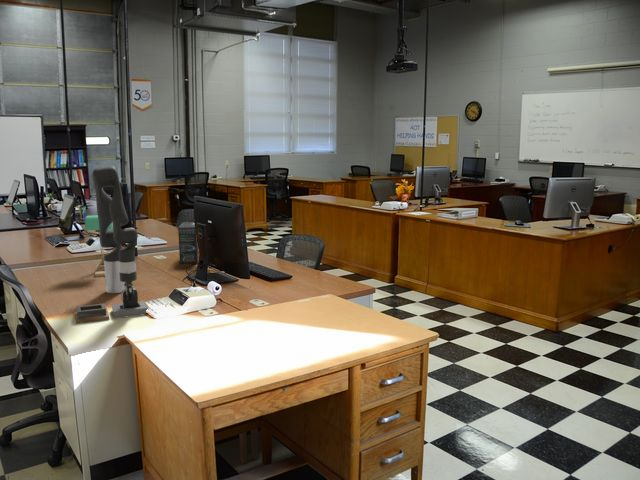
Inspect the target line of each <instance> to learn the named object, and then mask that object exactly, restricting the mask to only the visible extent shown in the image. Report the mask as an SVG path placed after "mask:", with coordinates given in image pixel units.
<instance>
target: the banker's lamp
mask: <svg viewBox="0 0 640 480" xmlns="http://www.w3.org/2000/svg"><path fill="white" fill-rule="evenodd" d="M107 230H113V222H112V223H111V224H110V225H109V227H108V228H107ZM84 231H85V232H87V233H91V234H96V235H99V220H98V214H96V215H86V216H85V218H84ZM103 252H104V248H103V247H102V246H101V247H100V255H101V256H100V257H101V258H102V259H101V260H100V261H99V263H98V264H97V265H96V267H95V271H94V277H95V278H97V277H98V278H99V277H105V266H104V255H103Z"/></svg>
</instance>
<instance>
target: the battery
mask: <svg viewBox="0 0 640 480" xmlns="http://www.w3.org/2000/svg"><path fill="white" fill-rule="evenodd" d="M133 291H134V294H133V297H134V298H133V307H128V300H127V295H126V290H125V288H124V290H122V292H120V293H121V301H122V304H123V309H127V308H135V307H138V302H139V296H138V295H139V294H138V290H137V289H136V288H133ZM127 293H128V292H127ZM129 297H132V295H129Z"/></svg>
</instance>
